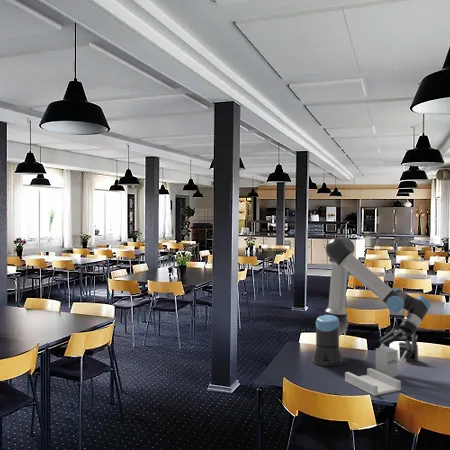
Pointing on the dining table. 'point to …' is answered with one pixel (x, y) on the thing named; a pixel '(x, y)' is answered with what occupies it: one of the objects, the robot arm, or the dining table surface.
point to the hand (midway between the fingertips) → (388, 359)
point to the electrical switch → (402, 349)
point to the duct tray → (374, 382)
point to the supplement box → (387, 361)
